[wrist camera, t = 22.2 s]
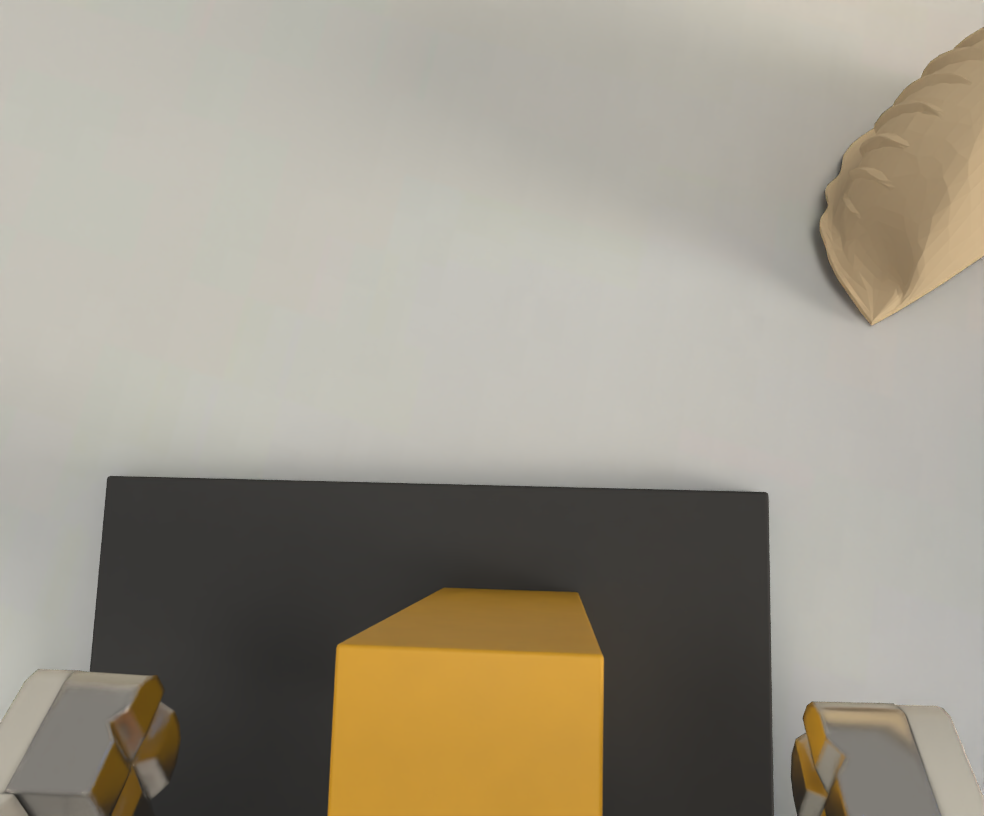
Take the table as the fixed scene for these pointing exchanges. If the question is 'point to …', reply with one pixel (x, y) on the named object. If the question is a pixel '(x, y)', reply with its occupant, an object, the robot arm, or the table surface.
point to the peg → (470, 709)
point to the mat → (412, 577)
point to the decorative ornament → (913, 189)
